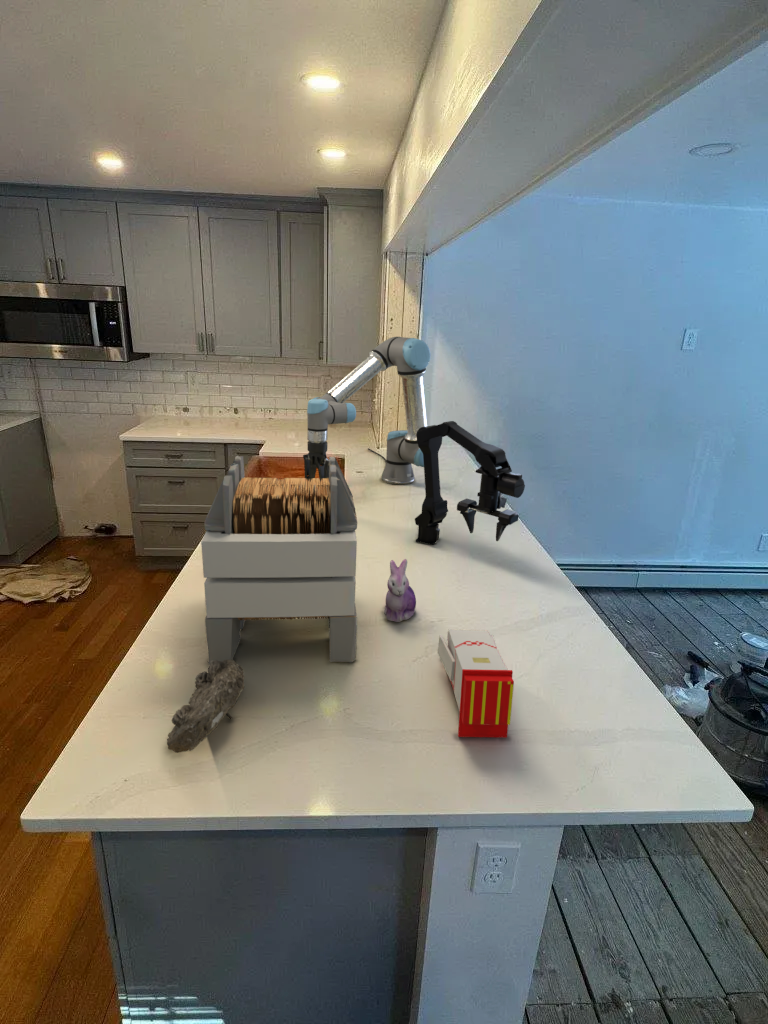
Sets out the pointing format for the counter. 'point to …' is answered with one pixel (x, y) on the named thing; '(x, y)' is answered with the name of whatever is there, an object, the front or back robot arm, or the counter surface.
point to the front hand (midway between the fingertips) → (484, 536)
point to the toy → (478, 682)
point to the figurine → (399, 594)
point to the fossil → (206, 705)
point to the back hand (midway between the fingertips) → (317, 499)
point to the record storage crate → (280, 557)
